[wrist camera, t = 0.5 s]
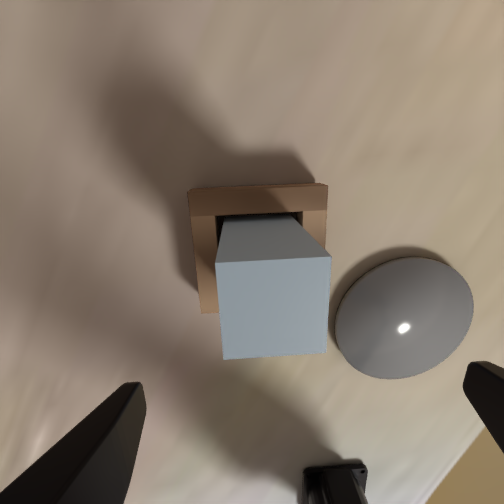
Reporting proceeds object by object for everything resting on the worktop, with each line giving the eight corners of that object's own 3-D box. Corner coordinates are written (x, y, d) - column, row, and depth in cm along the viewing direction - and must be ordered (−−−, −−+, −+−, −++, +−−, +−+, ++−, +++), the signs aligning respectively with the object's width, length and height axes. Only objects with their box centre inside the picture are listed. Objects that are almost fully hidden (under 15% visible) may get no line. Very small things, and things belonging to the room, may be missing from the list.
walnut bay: (314, 292, 21) (322, 306, 19) (204, 299, 21) (201, 313, 19) (318, 182, 18) (328, 185, 17) (192, 188, 18) (187, 191, 16)
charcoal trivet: (452, 369, 24) (457, 374, 24) (331, 378, 24) (333, 383, 23) (481, 253, 21) (488, 255, 20) (338, 260, 20) (341, 263, 20)
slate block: (288, 272, 20) (326, 352, 12) (229, 276, 20) (223, 359, 12) (289, 213, 19) (331, 256, 11) (224, 216, 19) (215, 263, 10)
